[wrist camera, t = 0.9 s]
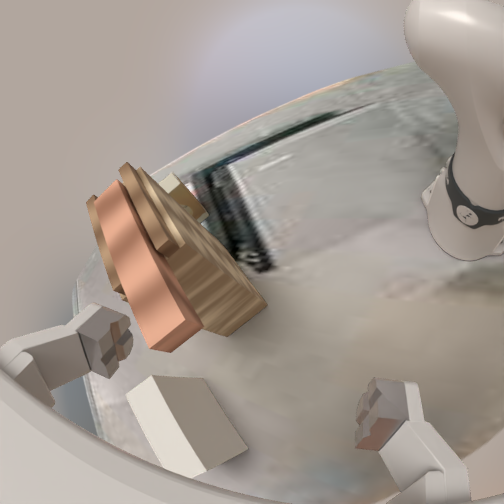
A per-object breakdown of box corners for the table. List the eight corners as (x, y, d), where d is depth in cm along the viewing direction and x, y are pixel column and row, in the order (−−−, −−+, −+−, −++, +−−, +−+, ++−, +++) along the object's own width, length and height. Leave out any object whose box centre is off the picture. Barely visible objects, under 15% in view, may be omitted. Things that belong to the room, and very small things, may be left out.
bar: (204, 326, 25) (185, 319, 22) (170, 352, 25) (149, 348, 22) (132, 192, 35) (116, 179, 32) (109, 213, 35) (93, 202, 32)
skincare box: (187, 234, 63) (153, 206, 52) (179, 222, 65) (146, 193, 54) (211, 214, 63) (180, 182, 52) (202, 202, 65) (171, 170, 54)
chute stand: (267, 305, 51) (174, 234, 27) (227, 336, 51) (108, 294, 27) (223, 245, 59) (131, 158, 34) (188, 275, 59) (82, 206, 35)
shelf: (248, 448, 42) (206, 470, 30) (221, 463, 42) (174, 485, 30) (202, 378, 50) (151, 375, 37) (179, 394, 50) (125, 394, 37)
